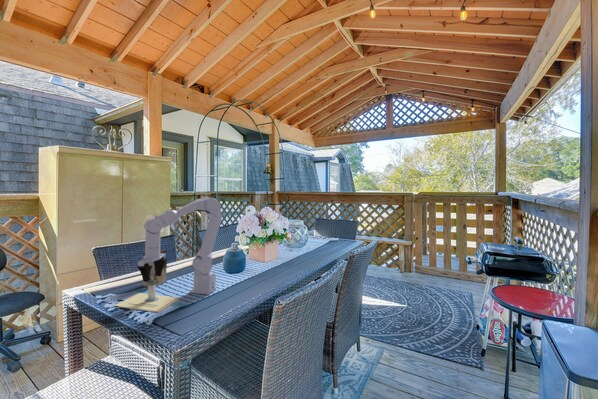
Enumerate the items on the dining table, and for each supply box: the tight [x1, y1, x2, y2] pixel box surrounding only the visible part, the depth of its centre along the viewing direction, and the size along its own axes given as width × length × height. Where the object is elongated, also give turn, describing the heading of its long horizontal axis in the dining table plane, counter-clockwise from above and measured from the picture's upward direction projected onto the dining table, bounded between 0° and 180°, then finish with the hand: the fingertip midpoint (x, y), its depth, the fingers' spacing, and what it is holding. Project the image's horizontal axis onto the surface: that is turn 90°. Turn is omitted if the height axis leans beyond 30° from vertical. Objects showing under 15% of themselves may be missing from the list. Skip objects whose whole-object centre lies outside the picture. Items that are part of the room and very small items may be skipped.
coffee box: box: [142, 249, 168, 288], centre depth 141 cm, size 9×6×16 cm
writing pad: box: [113, 292, 181, 313], centre depth 120 cm, size 20×14×1 cm
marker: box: [147, 280, 157, 301], centre depth 122 cm, size 3×3×8 cm
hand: (152, 278), depth 122 cm, fingers open, 7 cm apart
